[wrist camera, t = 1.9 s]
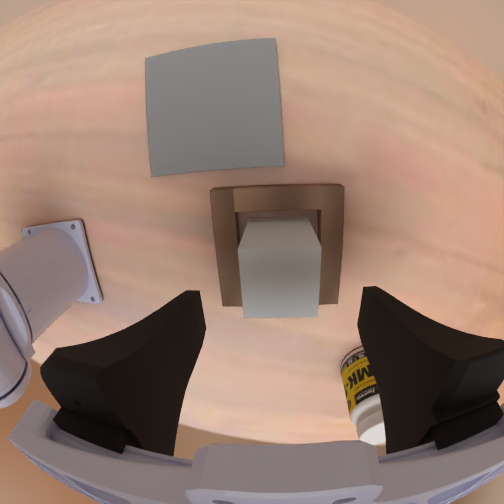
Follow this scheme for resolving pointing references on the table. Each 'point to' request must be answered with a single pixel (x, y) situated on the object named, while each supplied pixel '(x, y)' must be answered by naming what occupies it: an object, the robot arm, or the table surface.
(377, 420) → the supplement bottle
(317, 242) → the block
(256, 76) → the coaster
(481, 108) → the table surface
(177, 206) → the table surface
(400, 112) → the table surface
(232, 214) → the holder
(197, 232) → the table surface
